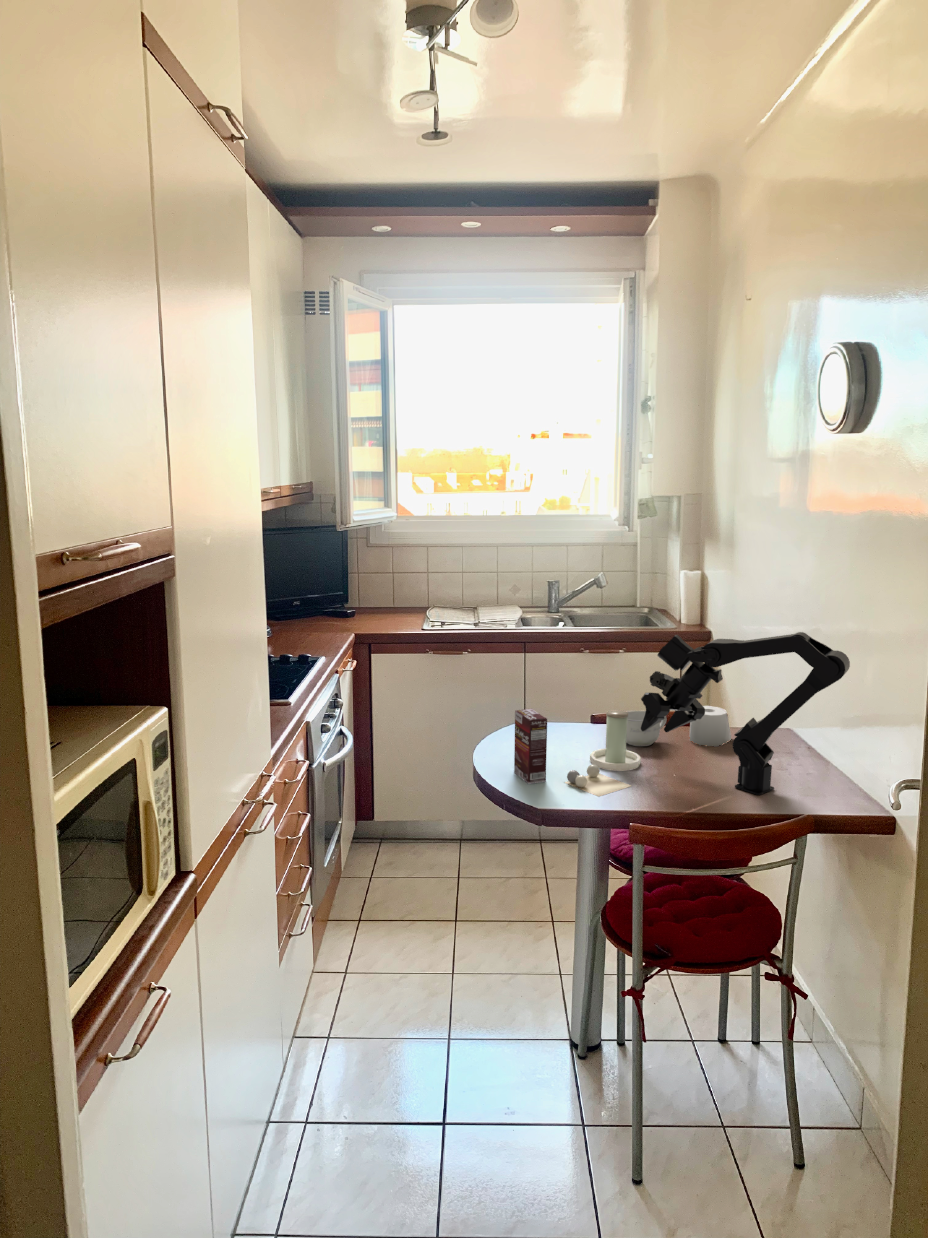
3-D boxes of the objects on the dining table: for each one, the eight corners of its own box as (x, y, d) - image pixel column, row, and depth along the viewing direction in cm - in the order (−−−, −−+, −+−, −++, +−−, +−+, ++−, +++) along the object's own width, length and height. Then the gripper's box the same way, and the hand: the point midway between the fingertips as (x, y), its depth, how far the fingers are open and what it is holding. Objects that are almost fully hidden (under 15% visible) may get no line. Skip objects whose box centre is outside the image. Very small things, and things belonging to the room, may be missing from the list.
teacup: (629, 751, 228) (630, 721, 227) (611, 738, 239) (612, 710, 237) (677, 747, 232) (678, 717, 231) (657, 734, 242) (659, 706, 241)
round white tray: (649, 765, 217) (650, 757, 217) (616, 775, 210) (616, 767, 210) (613, 752, 227) (613, 745, 226) (580, 762, 219) (580, 754, 219)
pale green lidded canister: (629, 764, 216) (631, 715, 214) (607, 765, 215) (609, 716, 213) (622, 757, 221) (624, 709, 219) (601, 758, 221) (603, 710, 218)
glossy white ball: (601, 777, 208) (602, 765, 207) (593, 780, 206) (593, 768, 205) (592, 774, 210) (593, 762, 210) (583, 776, 208) (584, 764, 208)
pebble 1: (582, 783, 204) (582, 771, 203) (573, 786, 202) (573, 773, 201) (573, 779, 206) (573, 767, 206) (564, 782, 204) (564, 770, 204)
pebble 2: (589, 787, 201) (590, 775, 201) (581, 790, 199) (581, 778, 199) (580, 784, 203) (581, 772, 203) (572, 786, 202) (572, 775, 201)
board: (631, 787, 202) (632, 786, 202) (598, 798, 196) (598, 796, 196) (597, 774, 211) (597, 772, 211) (564, 784, 204) (564, 782, 204)
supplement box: (512, 773, 211) (514, 709, 208) (531, 771, 213) (532, 708, 210) (527, 786, 203) (529, 719, 200) (546, 783, 205) (548, 717, 202)
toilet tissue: (738, 738, 240) (740, 708, 238) (712, 749, 231) (714, 717, 229) (709, 731, 246) (710, 701, 245) (682, 741, 237) (684, 710, 236)
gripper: (693, 663, 218) (657, 709, 224) (647, 657, 206) (610, 706, 212) (722, 694, 211) (684, 740, 217) (676, 690, 199) (637, 739, 205)
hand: (653, 730), depth 213 cm, fingers open, 9 cm apart
